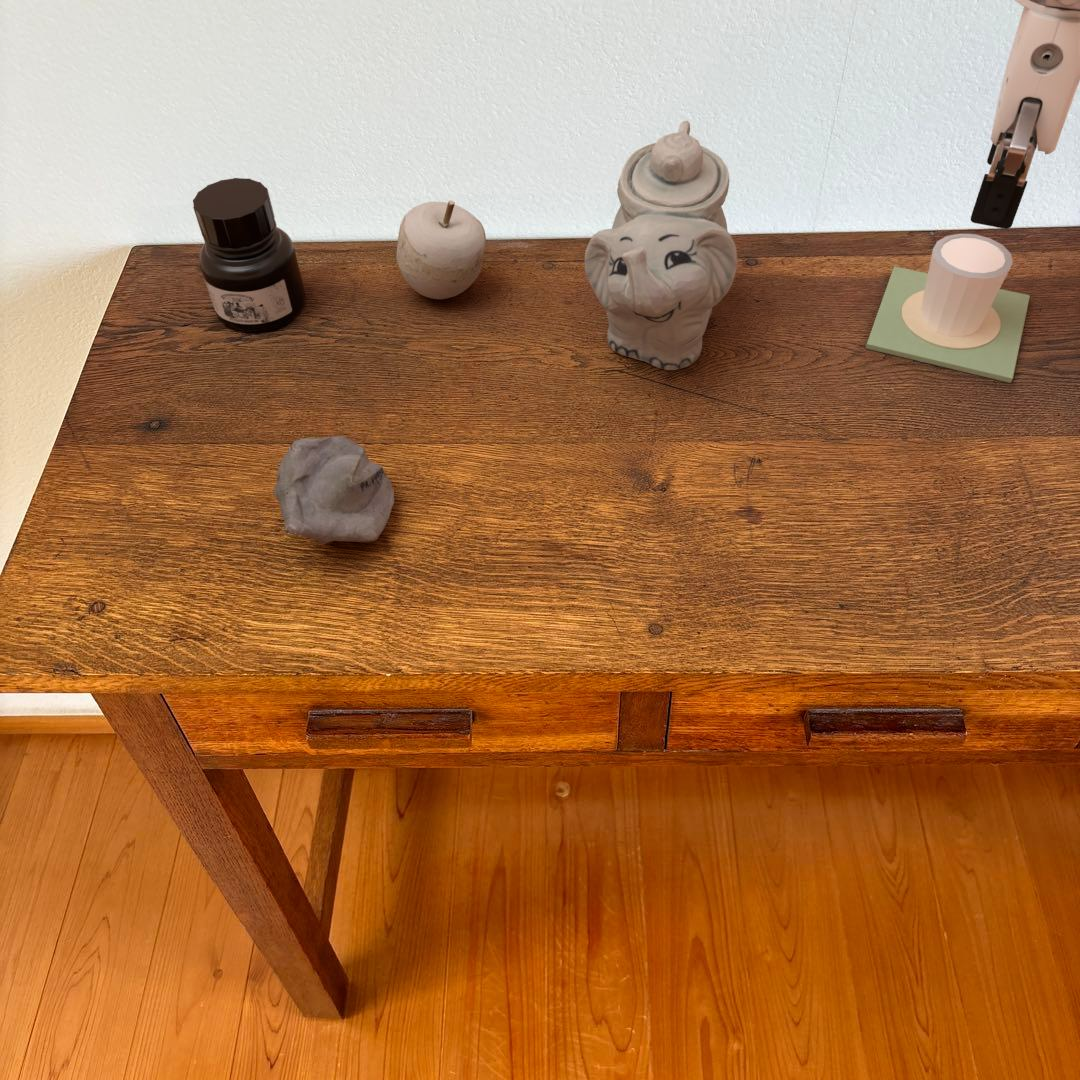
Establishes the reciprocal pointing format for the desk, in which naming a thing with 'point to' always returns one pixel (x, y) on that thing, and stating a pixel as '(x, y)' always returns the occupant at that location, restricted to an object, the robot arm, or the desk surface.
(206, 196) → the ink bottle
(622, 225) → the teapot
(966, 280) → the shot glass
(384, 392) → the desk surface
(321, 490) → the fossil
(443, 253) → the decorative object
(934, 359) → the mat
